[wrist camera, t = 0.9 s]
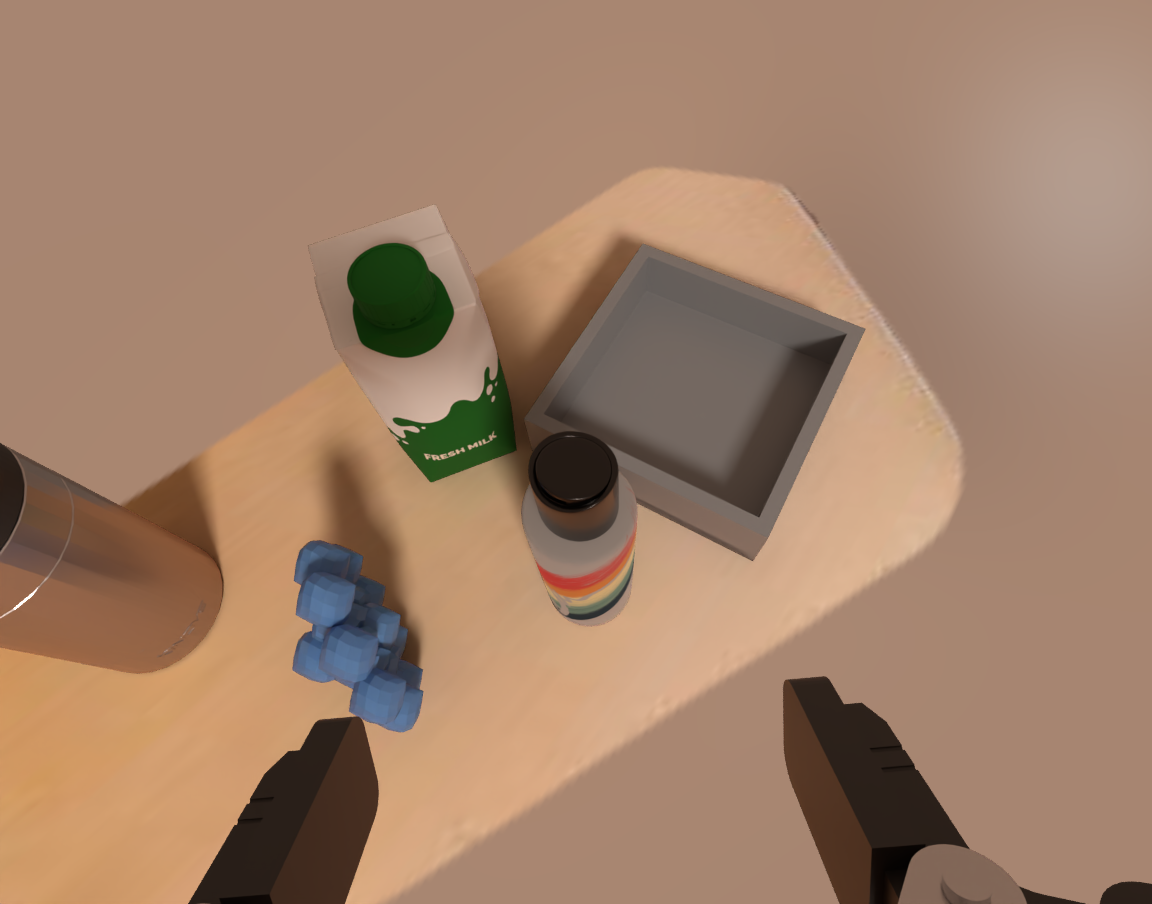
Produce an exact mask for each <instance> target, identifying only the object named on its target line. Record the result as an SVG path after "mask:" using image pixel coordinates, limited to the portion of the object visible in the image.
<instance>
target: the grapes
mask: <svg viewBox="0 0 1152 904" xmlns="http://www.w3.org/2000/svg"><path fill="white" fill-rule="evenodd" d="M362 562H363V556H361V555H360V554H358V553H356V552H354V551H352V550H350V549H347V548H345V547H342V546H340V545H337V544H329V543H327V542H324V541H321V540H319V541H310V542H308V543H307V544H306V545H305V546H304V547H303V548H302V549H301V550H300V552H299V555H298V559H297V562H296V568H295V576H294V581H295V582H297V583H298V584H300V585H301V588H300V592H299V595H298V600H297V608H296V615H297V616H299V617H301V618H302V619H304V620H306V621H308V622H310V623H312V624H313V627H312V631H310V632H306V633H304V635H303V636H302V637H301V638H300V639H299V641H298V644H297V647H296V651H295V655H294V660H293V671H295V672H296V673H298V674H300V675H302V676H304V677H306V678H307V679H309V680H312V681H316V682H320V683H324V682H328V681H332V680H336V681H338V682H340V683H342V684H344V685H345V686H348V687H350V688H352V689H353V692H352V696H351V700H350V708H349V712H351V713H353V714H354V715H356V716H358V717H360V718H362V719H363V720H365V721H367V722H370V723H375V724H378V725H380V726H382V727H384V728H386V729H387V730H391V731H396V732H405V731H407V730H410V729H412V727H413V726H414V724H415V722H416V720H417V718H418V716H419V713H420V708H421V704H422V697H423V691H422V690H420V684H421V679H422V672H423V670H422V669H421V668H419V667H417V666H415V665H413V664H411V663H409V662H407V661H405V660H401V659H400V658H401V657H402V655H403V652H404V649H405V645H406V640H407V633H408V629H406V628H405V627H403V626H401V625H400V618H401V615H400V614H398V613H396V612H394V611H392V610H391V609H388V608H386V607H384V606H382V604H383V600H384V595H385V586H384V585H382V584H380V583H378V582H376V581H374V580H372V579H370V578H367V577H364V576H361V575H360V572H361V568H362Z"/></svg>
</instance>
